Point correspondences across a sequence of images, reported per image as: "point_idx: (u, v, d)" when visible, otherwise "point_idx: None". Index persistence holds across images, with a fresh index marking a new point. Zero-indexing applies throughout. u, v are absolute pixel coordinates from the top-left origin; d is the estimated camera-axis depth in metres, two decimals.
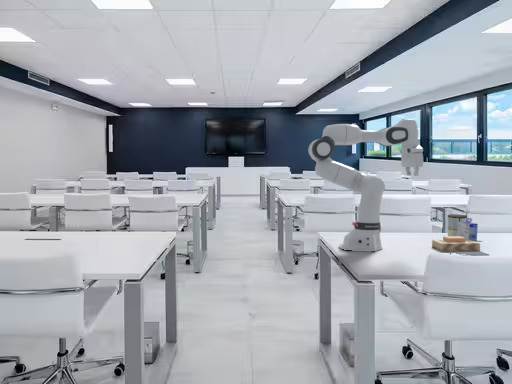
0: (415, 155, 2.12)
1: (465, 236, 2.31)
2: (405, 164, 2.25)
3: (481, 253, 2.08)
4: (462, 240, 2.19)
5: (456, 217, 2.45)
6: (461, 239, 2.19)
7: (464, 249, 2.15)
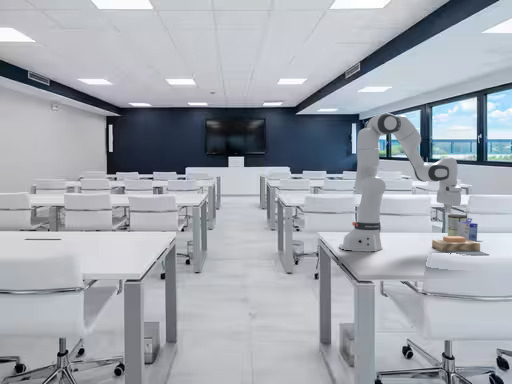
0: (454, 194, 2.19)
1: (465, 236, 2.31)
2: (441, 200, 2.32)
3: (481, 253, 2.08)
4: (462, 240, 2.19)
5: (456, 217, 2.45)
6: (461, 239, 2.19)
7: (464, 249, 2.15)
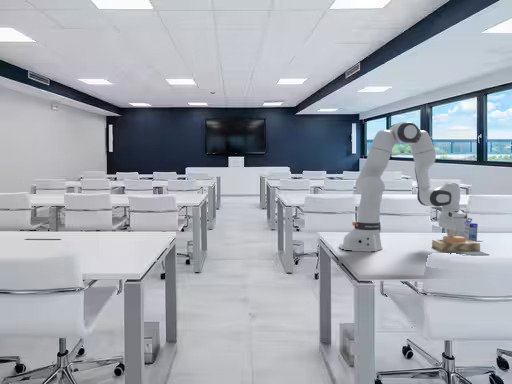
0: (456, 220, 2.16)
1: (465, 236, 2.31)
2: (443, 225, 2.30)
3: (481, 253, 2.08)
4: (462, 240, 2.19)
5: None
6: (461, 239, 2.19)
7: (464, 249, 2.15)
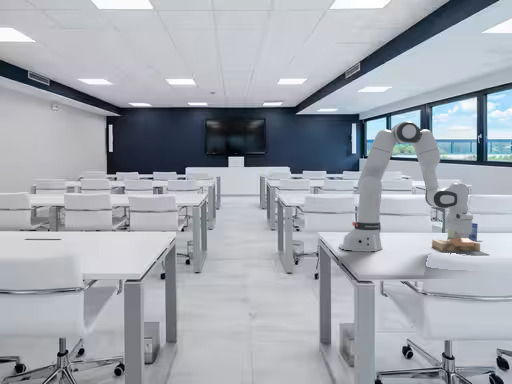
0: (465, 222, 2.08)
1: (465, 236, 2.31)
2: (450, 227, 2.22)
3: (481, 253, 2.08)
4: (470, 244, 2.11)
5: None
6: (469, 243, 2.11)
7: (464, 249, 2.15)
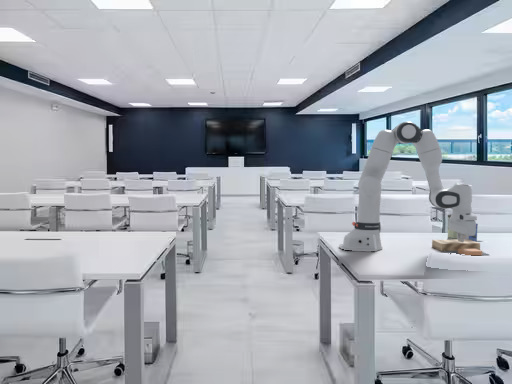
0: (468, 223, 2.05)
1: (465, 236, 2.31)
2: (454, 228, 2.18)
3: None
4: None
5: None
6: None
7: None
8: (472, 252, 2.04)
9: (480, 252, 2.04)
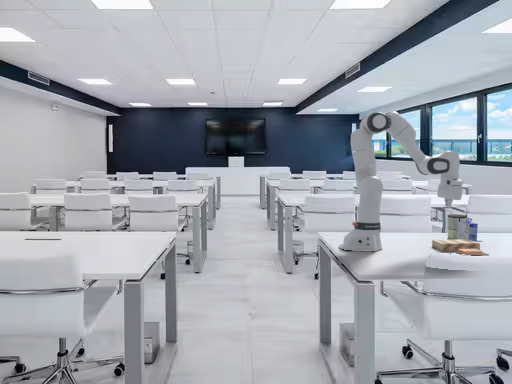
0: (455, 188, 2.13)
1: (465, 236, 2.31)
2: (442, 195, 2.27)
3: None
4: None
5: (456, 217, 2.45)
6: None
7: None
8: (472, 252, 2.04)
9: (480, 252, 2.04)
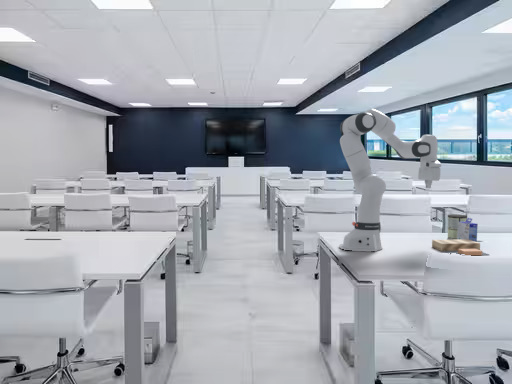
0: (433, 169, 2.27)
1: (465, 236, 2.31)
2: (422, 177, 2.40)
3: None
4: None
5: (456, 217, 2.45)
6: None
7: None
8: (472, 252, 2.04)
9: (480, 252, 2.04)
